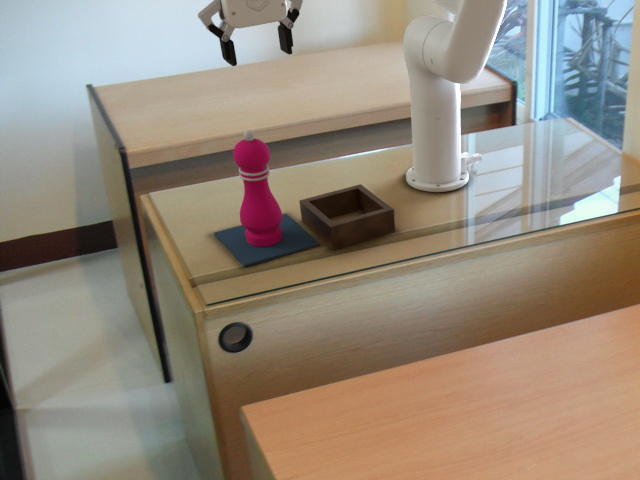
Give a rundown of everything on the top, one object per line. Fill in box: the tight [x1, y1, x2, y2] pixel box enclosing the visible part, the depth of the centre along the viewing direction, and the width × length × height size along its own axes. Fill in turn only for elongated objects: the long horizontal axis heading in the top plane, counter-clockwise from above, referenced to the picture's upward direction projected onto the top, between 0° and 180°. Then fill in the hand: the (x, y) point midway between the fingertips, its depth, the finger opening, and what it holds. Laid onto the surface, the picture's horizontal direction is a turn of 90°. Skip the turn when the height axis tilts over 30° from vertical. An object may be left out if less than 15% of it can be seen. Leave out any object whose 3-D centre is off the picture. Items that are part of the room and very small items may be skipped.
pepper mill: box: [232, 130, 283, 247], centre depth 161 cm, size 7×7×20 cm
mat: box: [213, 212, 320, 268], centre depth 167 cm, size 14×14×1 cm
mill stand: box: [298, 183, 396, 251], centre depth 171 cm, size 13×13×4 cm
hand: (259, 57), depth 153 cm, fingers open, 9 cm apart
